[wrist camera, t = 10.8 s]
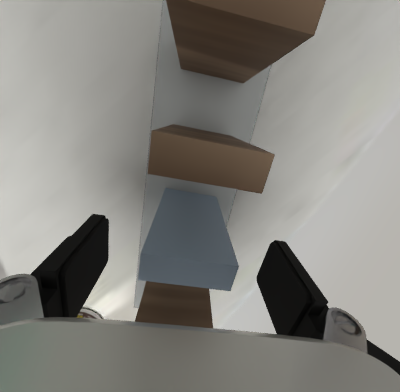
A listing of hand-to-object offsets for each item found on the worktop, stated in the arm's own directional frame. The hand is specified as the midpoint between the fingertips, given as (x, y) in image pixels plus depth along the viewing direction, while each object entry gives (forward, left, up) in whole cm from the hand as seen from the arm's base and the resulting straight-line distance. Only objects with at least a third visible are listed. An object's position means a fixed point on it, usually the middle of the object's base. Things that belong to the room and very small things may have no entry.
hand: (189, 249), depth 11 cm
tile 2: (-5, 0, -9) cm, 10 cm away
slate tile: (+1, 0, -9) cm, 9 cm away
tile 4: (+7, 0, -9) cm, 11 cm away
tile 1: (-11, 0, -9) cm, 14 cm away
